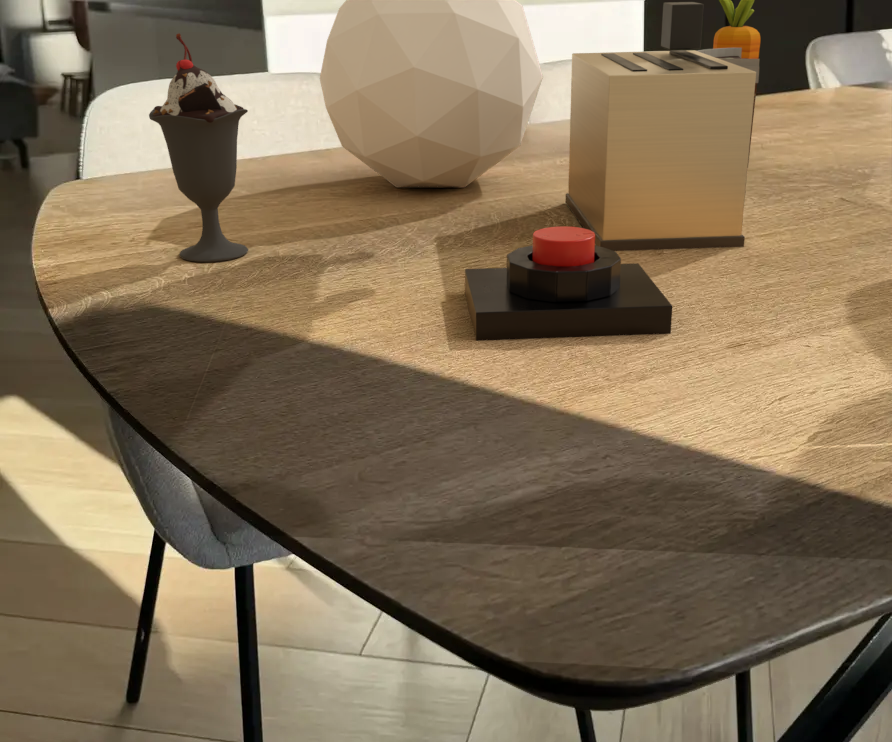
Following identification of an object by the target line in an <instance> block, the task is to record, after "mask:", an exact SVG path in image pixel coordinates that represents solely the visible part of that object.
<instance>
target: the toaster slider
mask: <svg viewBox="0 0 892 742" xmlns="http://www.w3.org/2000/svg"><path fill="white" fill-rule="evenodd" d="M704 5H705V4H704V3H700V2H697V1H696V2H695V1H677V2H675V1H674V2H663V5H662V19H661V20H662V21H661V36H660V37H661V39H660V47H662V48H665V49H668V50H701V48H702V47H701V46H702V34H703V19H704V16H703V15H704Z"/></svg>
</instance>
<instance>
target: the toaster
mask: <svg viewBox="0 0 892 742" xmlns="http://www.w3.org/2000/svg"><path fill="white" fill-rule="evenodd" d="M570 78H571V79H570V81H571V83H570V115H569V116H570V117H569V153H568V162H569V163H568V192H567V193H565V199H564V201H565V204H566V205H567V207H568V208H569V210H570V211H571V213H572V214H573V216H574V217H575V219H576V220H577V219H578V220H577V221H578V222H579V224H580V226H581V228H584V229H588V230H591V231H593V232H594V233H595V245H597V246H600V247H603V248H606V249H610V250H613V251H615V252H625V251H626V252H628V251H655V250H656V251H657V250H660V251H661V250H685V249H686V250H687V249H688V250H689V249H690V250H691V249H715V248H717V249H718V248H719V249H720V248H744V247H745V239H746V236H744V235H743V234H742V233H743V232H742V231H743V222H744V211H745V210H744V209H745V200H746V199H745V198H746V189H747V178H748V168H749V163H748V157H749V158H750V154H749V146H750V147H751V145H750V135H751V124H752V113H753V102H754V91H755V81H756V72H755V71H752V70H749V69H747V68H744V67H741V66H738V65H735V64H732V63H729V62H727V61H724V60H721V59H718V58H715V57H712V56H710V55H707V54H704V53H701V52H698V50H696V49H674V50H653V51H651V50H649V51H615V52H613V51H610V52H608V51H607V52H575V53H574V52H573V53H572V54H571V77H570ZM751 136H752V135H751Z"/></svg>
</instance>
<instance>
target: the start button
mask: <svg viewBox="0 0 892 742" xmlns="http://www.w3.org/2000/svg"><path fill="white" fill-rule="evenodd" d="M532 245H533V259H532V261H533V262H535V263H538V264H543V265H552V266H580V265H585V264H590V263H594V252H595V233H594V232H593V231H591V230H588V229H584V228H583V227H577V226H549V227H544V228H540V229H537V230H534V232H533V233H532Z"/></svg>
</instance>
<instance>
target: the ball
mask: <svg viewBox="0 0 892 742" xmlns="http://www.w3.org/2000/svg"><path fill="white" fill-rule="evenodd" d="M326 39H327V40H326V44H325V49H324V50H325V51H324V54H323V59H322V65H321V69H320V74H319V82H320V87H321V91H322V97H323V101H324V106H325V109H326V112H327V114H328V116H329V119H330V121H331V123H332V126H333V128H334V131H335V133H336V136H337V138H338V141H339V142H340V145H341V147H342V148H344V149H345V150H346V151H347V152H349V153H350V154H351V155H353V156H354V157H356V158H357V159H358V160H359V161H361V162H362V163H364V164H365V165H366V166H367V167H368V168H370V169H371V170H373V171H374V172H375V173H377V174H378V175H379V176H381V177H382V178H383V179H385V180H386V181H388V182H389V183H390V184H392V185H393V186H394V187H395V188H426V189H427V188H436V189H437V188H440V189H441V188H443V189H445V188H446V189H449V188H451V189H453V188H455V189H457V188H458V189H459V188H463V189H464V188H466V187H467V186H468V185H470V184H471V183H472V182H474V181H475V180H477V179H478V178H479V177H481V176H483V174H485V173H486V172H487V171H489V170H490V169H491V168H493V167H494V166H496V165H497V164H499V162H501V161H503V160H504V159H505V158H507V157H508V156H509V155H510V154H512V153H513V152H514V151H516V150H517V149H518V148H520V147H521V145H522V142H523V139H524V136H525V133H526V130H527V127H528V123H529V121H530V119H531V114H532V112H533V108H534V106H535V102H536V99H537V96H538V93H539V90H540V88H541V85H542V83H543V78H544V75H543V71H542V67H541V64H540V61H539V58H538V54H537V51H536V47H535V44H534V40H533V37H532V34H531V31H530V26H529V23H528V20H527V16H526V12H525V9H524V6H523V4H522V3H520V2H519V1H517V0H345V1H344V2H343V3H342V5H340V6H339V8H338V10H337V13H336V16H335V19H334V21H333V24H332V27H331V29H330V32H329V34H328V36H327V38H326Z"/></svg>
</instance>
